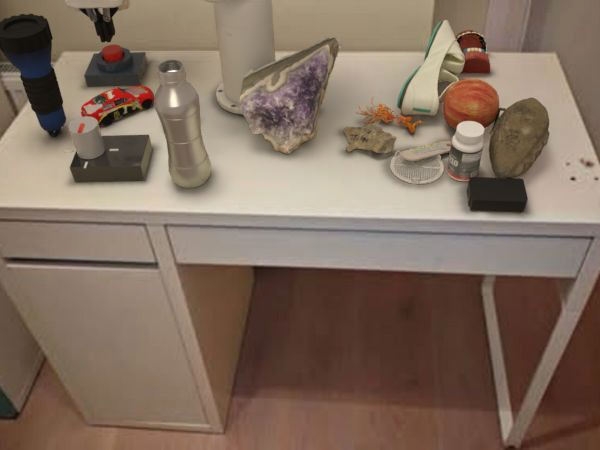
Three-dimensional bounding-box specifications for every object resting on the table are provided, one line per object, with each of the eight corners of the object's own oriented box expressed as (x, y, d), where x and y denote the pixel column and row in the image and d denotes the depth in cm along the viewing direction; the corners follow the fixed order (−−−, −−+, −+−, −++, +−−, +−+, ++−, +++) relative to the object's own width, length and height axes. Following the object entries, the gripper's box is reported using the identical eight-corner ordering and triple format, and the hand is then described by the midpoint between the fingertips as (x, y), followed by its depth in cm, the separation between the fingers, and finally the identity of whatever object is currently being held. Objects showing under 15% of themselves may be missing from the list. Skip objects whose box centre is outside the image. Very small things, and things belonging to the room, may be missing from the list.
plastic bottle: (216, 166, 104) (199, 53, 90) (208, 194, 99) (188, 80, 85) (177, 165, 105) (153, 52, 91) (166, 193, 100) (140, 79, 86)
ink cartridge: (520, 189, 98) (466, 187, 98) (523, 178, 96) (468, 176, 97) (525, 213, 94) (468, 211, 95) (528, 201, 93) (470, 200, 93)
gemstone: (235, 127, 113) (249, 169, 102) (227, 38, 104) (242, 74, 93) (335, 114, 116) (359, 153, 106) (336, 27, 107) (363, 59, 96)
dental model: (457, 51, 117) (452, 24, 124) (452, 77, 120) (447, 49, 128) (497, 53, 116) (489, 26, 124) (490, 79, 120) (484, 51, 127)
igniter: (147, 62, 128) (143, 44, 125) (140, 85, 122) (136, 66, 119) (96, 64, 128) (91, 45, 125) (87, 86, 122) (81, 67, 119)
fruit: (452, 98, 100) (517, 105, 100) (448, 62, 107) (509, 70, 107) (439, 141, 106) (500, 148, 106) (436, 105, 113) (493, 112, 113)
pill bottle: (443, 164, 103) (450, 120, 97) (473, 161, 103) (481, 117, 97) (450, 183, 99) (458, 139, 94) (481, 181, 100) (490, 136, 94)
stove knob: (80, 142, 105) (71, 115, 101) (108, 141, 105) (99, 114, 101) (74, 159, 102) (64, 132, 98) (102, 159, 102) (93, 131, 98)
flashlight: (81, 116, 115) (47, 9, 101) (83, 142, 110) (47, 33, 96) (34, 124, 114) (-7, 17, 100) (34, 151, 108) (-10, 41, 94)
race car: (147, 92, 120) (143, 72, 118) (161, 105, 117) (157, 85, 114) (79, 117, 115) (73, 98, 112) (92, 132, 112) (86, 112, 109)
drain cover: (388, 181, 100) (388, 176, 99) (392, 148, 106) (392, 143, 105) (443, 186, 99) (444, 181, 98) (444, 152, 105) (444, 147, 104)
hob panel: (153, 148, 108) (149, 132, 106) (144, 182, 102) (140, 166, 100) (76, 149, 108) (71, 134, 106) (62, 183, 102) (56, 168, 100)
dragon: (417, 141, 108) (418, 126, 105) (352, 127, 112) (351, 113, 108) (424, 121, 110) (425, 106, 107) (360, 108, 113) (359, 94, 110)
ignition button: (125, 52, 124) (123, 44, 122) (121, 62, 121) (119, 53, 120) (106, 52, 124) (104, 44, 123) (102, 62, 121) (99, 54, 120)
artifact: (354, 110, 110) (400, 125, 103) (358, 124, 112) (405, 139, 105) (326, 138, 107) (372, 155, 101) (331, 152, 109) (377, 169, 103)
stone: (539, 195, 96) (537, 153, 91) (479, 190, 100) (474, 149, 95) (558, 123, 106) (558, 82, 101) (502, 122, 110) (499, 82, 105)
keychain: (450, 137, 107) (462, 145, 105) (449, 141, 107) (461, 149, 105) (398, 150, 102) (409, 158, 100) (397, 153, 103) (409, 162, 100)
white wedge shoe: (434, 47, 126) (473, 58, 125) (391, 125, 112) (436, 139, 110) (442, 9, 120) (484, 20, 118) (398, 86, 106) (445, 100, 104)
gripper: (29, -54, 104) (61, 50, 117) (123, -56, 104) (144, 48, 117) (43, -72, 110) (72, 29, 123) (131, -74, 109) (151, 28, 122)
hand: (107, 38), depth 120 cm, fingers closed
